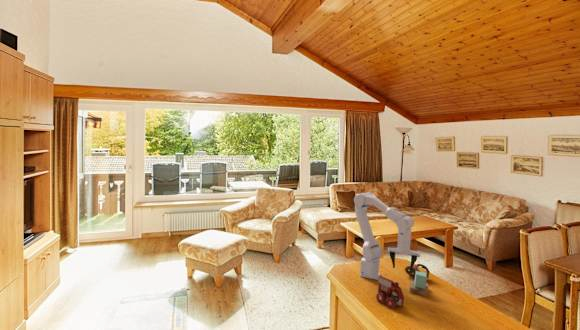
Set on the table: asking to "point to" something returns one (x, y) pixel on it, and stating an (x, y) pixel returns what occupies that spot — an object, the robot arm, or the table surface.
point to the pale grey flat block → (418, 289)
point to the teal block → (420, 279)
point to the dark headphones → (416, 269)
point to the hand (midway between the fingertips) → (402, 268)
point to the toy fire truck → (389, 292)
